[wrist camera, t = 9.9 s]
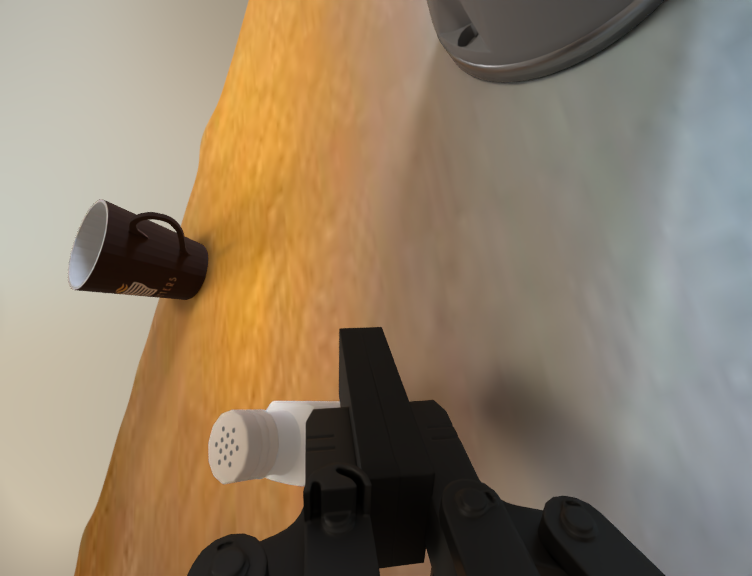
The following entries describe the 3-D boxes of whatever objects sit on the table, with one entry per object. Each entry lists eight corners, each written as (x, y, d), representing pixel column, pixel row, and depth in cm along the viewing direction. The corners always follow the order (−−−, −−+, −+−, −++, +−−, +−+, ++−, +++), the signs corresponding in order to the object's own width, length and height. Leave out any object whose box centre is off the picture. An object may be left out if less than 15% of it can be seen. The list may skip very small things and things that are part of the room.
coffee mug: (164, 305, 47) (60, 286, 39) (183, 234, 48) (85, 202, 40) (216, 317, 39) (100, 297, 32) (237, 233, 40) (130, 193, 33)
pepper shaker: (385, 403, 25) (257, 402, 18) (383, 473, 24) (247, 502, 17) (338, 401, 28) (208, 399, 20) (334, 464, 26) (197, 486, 19)
